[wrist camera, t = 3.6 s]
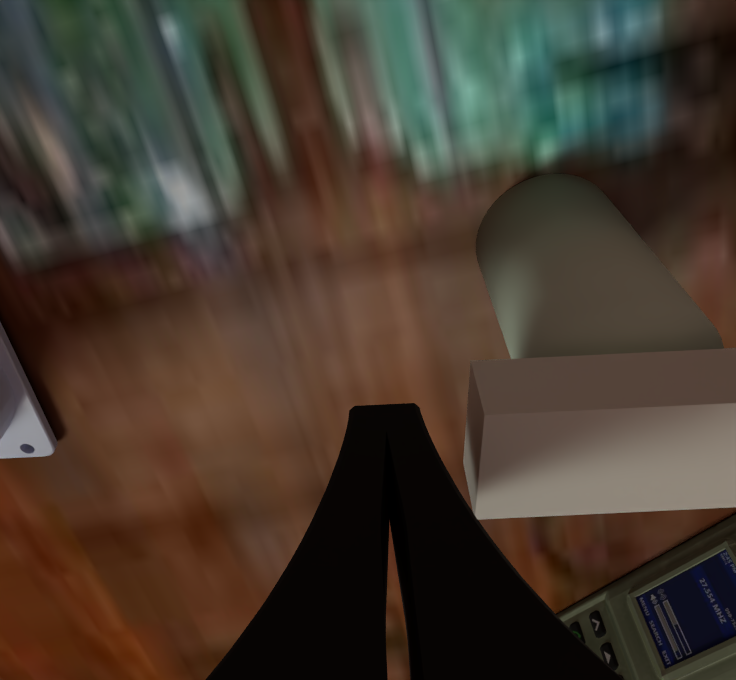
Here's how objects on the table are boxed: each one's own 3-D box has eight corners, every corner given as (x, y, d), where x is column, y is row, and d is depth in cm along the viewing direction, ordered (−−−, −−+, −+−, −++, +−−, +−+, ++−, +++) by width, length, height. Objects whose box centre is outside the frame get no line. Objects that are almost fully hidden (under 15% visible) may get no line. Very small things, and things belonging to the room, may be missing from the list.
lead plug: (471, 301, 21) (517, 453, 16) (480, 177, 19) (538, 305, 13) (601, 295, 21) (693, 445, 16) (628, 169, 19) (751, 295, 13)
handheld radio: (464, 654, 36) (910, 397, 25) (503, 669, 37) (942, 432, 26) (488, 793, 30) (1070, 545, 19) (532, 803, 32) (1099, 579, 21)
